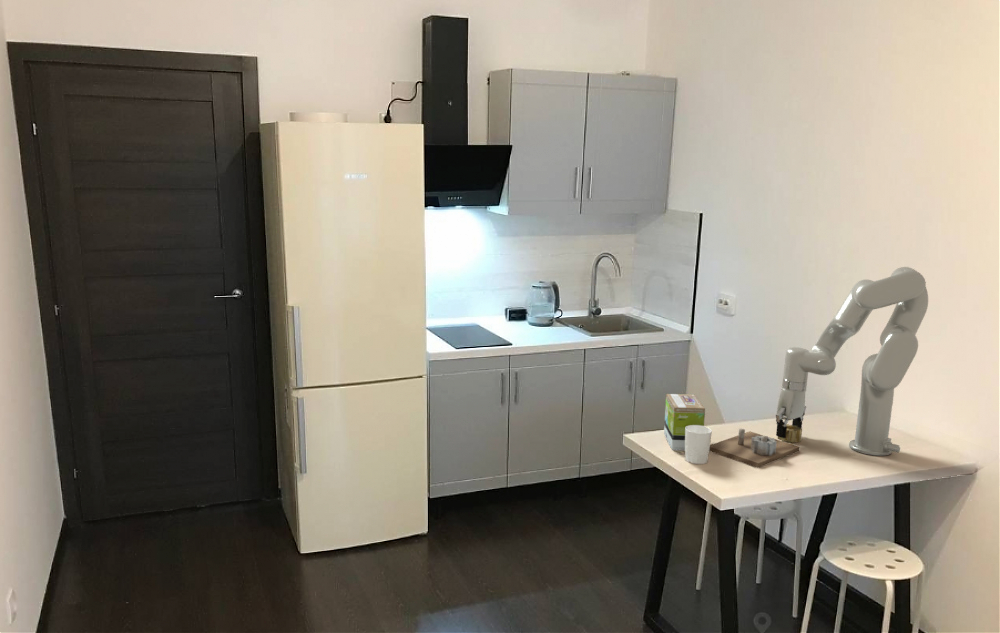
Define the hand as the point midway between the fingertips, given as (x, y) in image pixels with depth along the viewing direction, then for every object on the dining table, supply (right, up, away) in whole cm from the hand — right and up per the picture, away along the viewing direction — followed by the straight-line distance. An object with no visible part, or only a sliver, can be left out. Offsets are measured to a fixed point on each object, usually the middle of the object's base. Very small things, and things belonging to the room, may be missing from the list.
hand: (788, 434), depth 253 cm
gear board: (-16, -4, -12) cm, 20 cm away
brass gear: (0, -2, 0) cm, 2 cm away
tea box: (-37, -2, -6) cm, 38 cm away
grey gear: (-14, -3, -17) cm, 22 cm away
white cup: (-37, -5, -21) cm, 42 cm away
